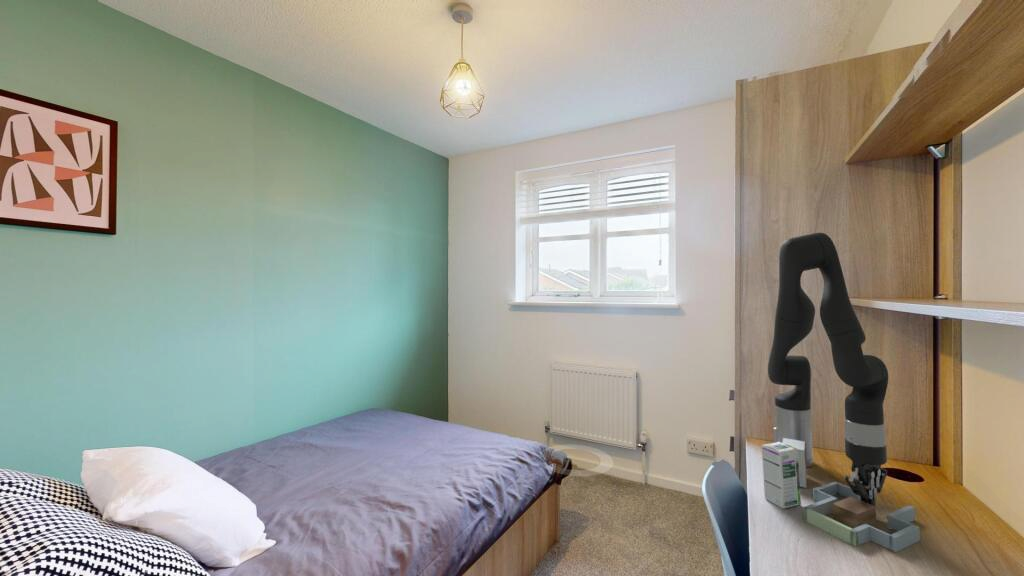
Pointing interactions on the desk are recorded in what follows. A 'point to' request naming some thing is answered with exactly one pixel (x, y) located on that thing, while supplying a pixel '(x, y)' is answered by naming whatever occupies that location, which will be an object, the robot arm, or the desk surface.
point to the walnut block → (854, 513)
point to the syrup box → (781, 474)
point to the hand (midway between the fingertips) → (868, 511)
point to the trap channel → (892, 539)
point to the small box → (799, 458)
